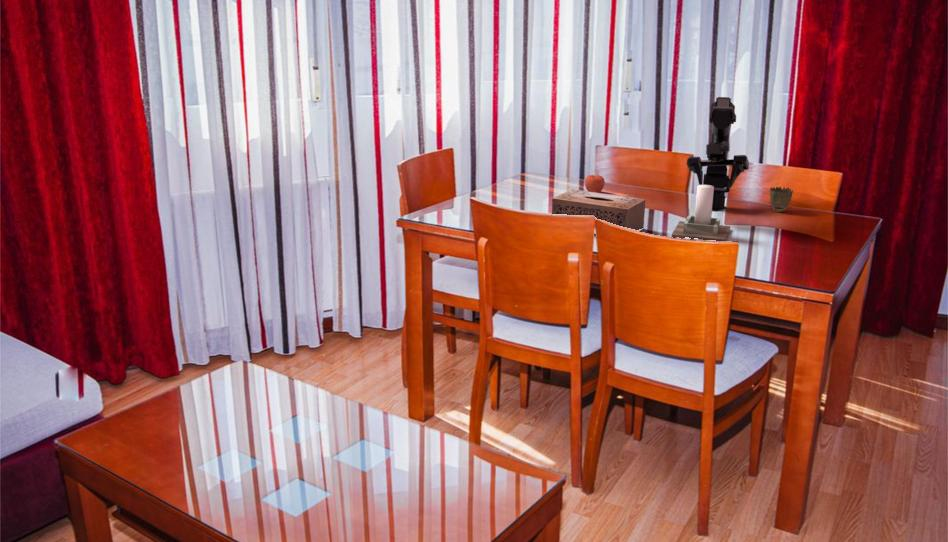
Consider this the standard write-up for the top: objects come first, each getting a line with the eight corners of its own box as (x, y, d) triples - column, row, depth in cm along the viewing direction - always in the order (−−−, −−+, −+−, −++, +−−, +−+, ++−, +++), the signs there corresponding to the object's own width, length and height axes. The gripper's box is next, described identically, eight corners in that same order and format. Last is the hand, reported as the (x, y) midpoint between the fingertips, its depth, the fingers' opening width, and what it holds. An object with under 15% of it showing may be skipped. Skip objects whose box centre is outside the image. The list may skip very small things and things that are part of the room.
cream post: (690, 228, 267) (694, 185, 262) (705, 227, 268) (709, 184, 263) (697, 232, 262) (701, 188, 257) (712, 231, 263) (716, 188, 258)
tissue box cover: (643, 229, 271) (645, 199, 267) (625, 240, 259) (627, 209, 256) (571, 218, 284) (572, 189, 280) (551, 228, 272) (552, 198, 269)
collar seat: (679, 224, 275) (680, 212, 274) (729, 229, 269) (731, 217, 268) (671, 237, 261) (672, 224, 260) (724, 243, 255) (726, 230, 254)
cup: (793, 214, 287) (796, 191, 285) (771, 214, 287) (774, 191, 285) (786, 208, 294) (788, 186, 292) (764, 208, 294) (767, 186, 292)
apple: (592, 190, 320) (593, 169, 318) (608, 193, 315) (609, 172, 312) (580, 193, 315) (581, 172, 313) (595, 196, 310) (596, 175, 308)
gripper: (685, 133, 271) (680, 178, 267) (745, 130, 262) (741, 176, 258) (692, 148, 280) (688, 192, 276) (750, 146, 272) (747, 190, 267)
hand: (715, 187), depth 269 cm, fingers open, 9 cm apart
